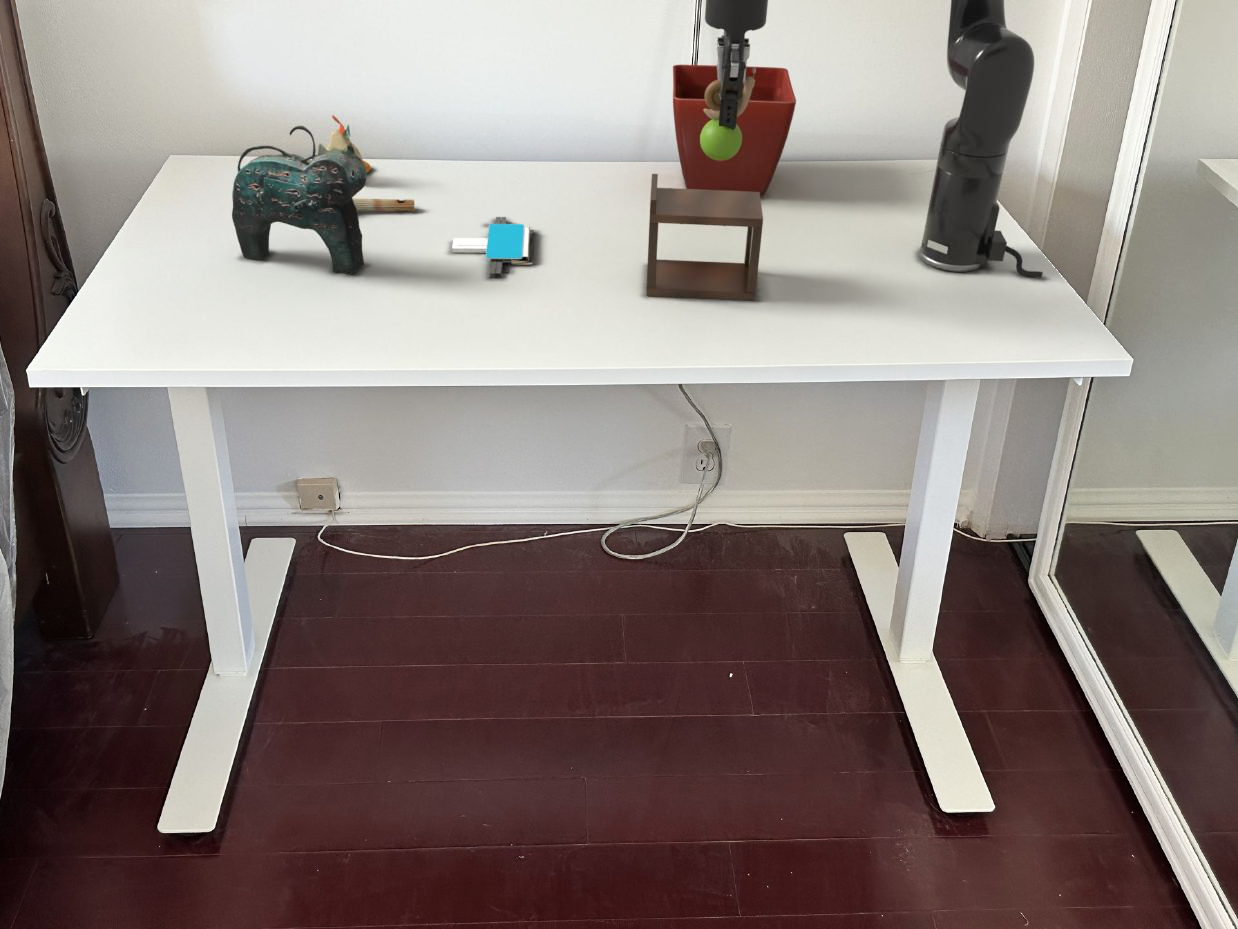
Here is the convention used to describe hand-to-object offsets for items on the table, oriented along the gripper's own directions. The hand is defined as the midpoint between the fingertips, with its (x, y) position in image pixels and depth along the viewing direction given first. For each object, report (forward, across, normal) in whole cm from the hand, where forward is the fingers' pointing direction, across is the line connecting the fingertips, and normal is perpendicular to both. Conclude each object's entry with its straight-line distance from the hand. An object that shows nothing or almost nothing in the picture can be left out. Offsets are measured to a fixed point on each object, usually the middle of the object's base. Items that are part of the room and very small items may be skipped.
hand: (726, 125), depth 151 cm
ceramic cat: (+24, +2, +58) cm, 63 cm away
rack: (+23, +1, +2) cm, 23 cm away
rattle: (+24, +35, +58) cm, 72 cm away
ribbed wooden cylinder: (+24, +21, +56) cm, 65 cm away
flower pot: (+23, +40, -3) cm, 46 cm away
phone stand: (+23, +10, +32) cm, 41 cm away
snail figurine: (+5, 0, 0) cm, 5 cm away
